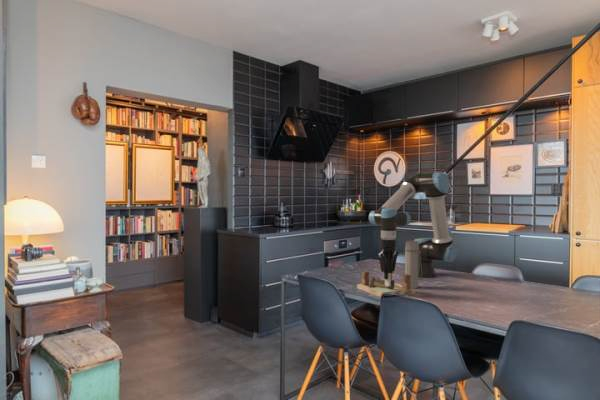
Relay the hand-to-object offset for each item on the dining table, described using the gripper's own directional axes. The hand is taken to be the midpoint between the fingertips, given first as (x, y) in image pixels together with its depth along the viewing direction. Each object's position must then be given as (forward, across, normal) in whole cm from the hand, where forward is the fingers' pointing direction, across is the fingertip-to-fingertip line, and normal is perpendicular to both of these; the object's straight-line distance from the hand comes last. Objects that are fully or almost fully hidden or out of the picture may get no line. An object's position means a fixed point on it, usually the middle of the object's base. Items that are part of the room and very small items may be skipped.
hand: (387, 285), depth 196 cm
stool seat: (+4, +4, +5) cm, 8 cm away
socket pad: (+2, -1, +1) cm, 3 cm away
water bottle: (+4, +22, +2) cm, 22 cm away
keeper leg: (+2, 0, +5) cm, 5 cm away
